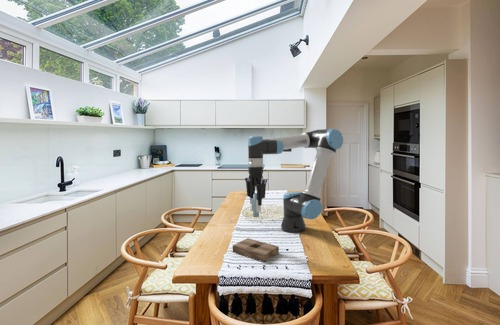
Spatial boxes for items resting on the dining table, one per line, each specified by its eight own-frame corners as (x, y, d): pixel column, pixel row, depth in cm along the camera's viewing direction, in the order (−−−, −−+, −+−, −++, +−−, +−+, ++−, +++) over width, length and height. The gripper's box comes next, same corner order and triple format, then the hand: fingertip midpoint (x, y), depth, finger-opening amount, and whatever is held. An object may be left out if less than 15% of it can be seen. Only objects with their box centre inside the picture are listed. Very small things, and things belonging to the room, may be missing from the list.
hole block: (247, 244, 150) (247, 238, 150) (278, 253, 137) (278, 246, 137) (232, 252, 141) (232, 245, 141) (264, 262, 128) (264, 255, 128)
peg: (255, 215, 147) (255, 193, 146) (260, 216, 145) (260, 193, 144) (252, 216, 145) (251, 193, 144) (256, 217, 143) (256, 194, 142)
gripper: (239, 165, 146) (240, 209, 147) (263, 167, 135) (263, 215, 137) (249, 164, 151) (249, 207, 153) (272, 166, 141) (272, 212, 142)
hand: (256, 210), depth 145 cm, fingers closed on peg, 3 cm apart
